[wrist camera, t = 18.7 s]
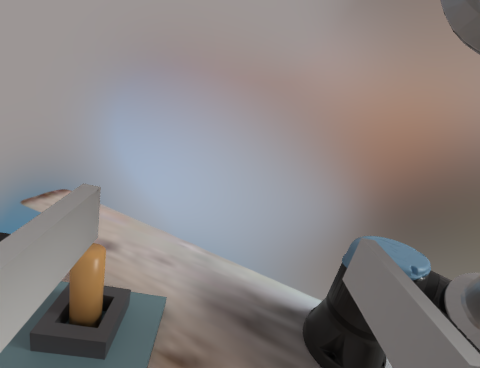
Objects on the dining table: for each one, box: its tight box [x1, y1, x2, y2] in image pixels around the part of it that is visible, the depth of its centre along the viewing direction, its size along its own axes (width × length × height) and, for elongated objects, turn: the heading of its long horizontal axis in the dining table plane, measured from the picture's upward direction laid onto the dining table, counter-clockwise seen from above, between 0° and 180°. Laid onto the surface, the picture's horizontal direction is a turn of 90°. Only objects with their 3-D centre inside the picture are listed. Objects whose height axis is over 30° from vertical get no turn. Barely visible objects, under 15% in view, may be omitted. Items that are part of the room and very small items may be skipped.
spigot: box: [69, 243, 106, 328], centre depth 40 cm, size 4×4×14 cm
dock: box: [0, 281, 166, 368], centre depth 42 cm, size 22×16×5 cm
